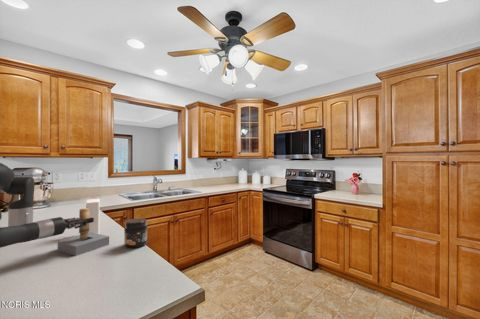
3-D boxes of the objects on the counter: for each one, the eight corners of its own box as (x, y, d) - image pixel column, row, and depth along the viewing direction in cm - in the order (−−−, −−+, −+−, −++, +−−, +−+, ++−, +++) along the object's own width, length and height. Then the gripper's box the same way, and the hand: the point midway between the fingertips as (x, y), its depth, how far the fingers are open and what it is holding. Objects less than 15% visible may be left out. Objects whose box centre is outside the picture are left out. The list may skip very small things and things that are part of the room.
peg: (76, 238, 106) (77, 209, 107) (86, 236, 110) (86, 207, 111) (82, 240, 105) (82, 210, 105) (91, 237, 108) (91, 208, 109)
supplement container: (118, 247, 108) (119, 222, 108) (136, 240, 118) (136, 217, 118) (135, 250, 104) (135, 224, 104) (152, 242, 114) (152, 219, 114)
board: (57, 249, 104) (57, 241, 104) (90, 239, 118) (90, 232, 118) (76, 255, 98) (76, 246, 98) (109, 244, 111) (109, 236, 111)
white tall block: (98, 235, 125) (99, 196, 125) (85, 237, 122) (86, 197, 122) (99, 232, 130) (99, 194, 130) (86, 234, 127) (87, 195, 127)
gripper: (57, 221, 92) (99, 212, 107) (40, 217, 98) (82, 210, 113) (57, 239, 92) (99, 228, 107) (39, 234, 98) (81, 225, 113)
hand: (90, 219), depth 110 cm, fingers closed on peg, 4 cm apart
